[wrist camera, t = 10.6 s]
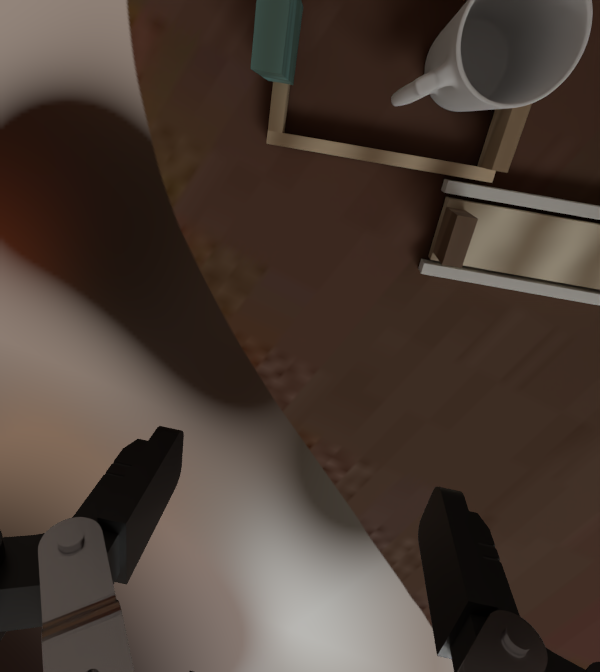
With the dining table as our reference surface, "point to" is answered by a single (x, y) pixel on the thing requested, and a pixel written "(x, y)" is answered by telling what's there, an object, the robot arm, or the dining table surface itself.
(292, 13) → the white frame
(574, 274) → the plain strip
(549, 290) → the lane rails
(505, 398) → the dining table surface
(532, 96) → the mug
